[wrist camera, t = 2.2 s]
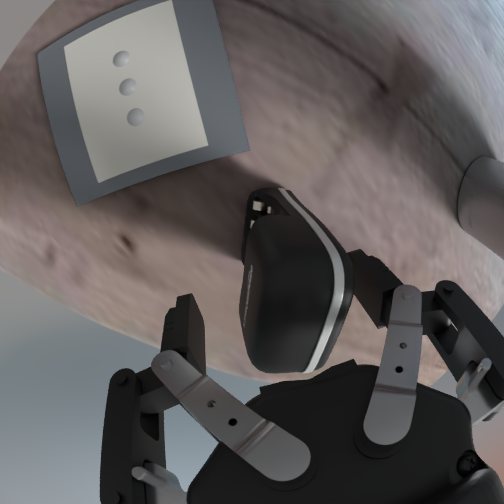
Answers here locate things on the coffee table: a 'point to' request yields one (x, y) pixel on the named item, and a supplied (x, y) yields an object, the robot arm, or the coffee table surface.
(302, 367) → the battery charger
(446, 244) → the coffee table surface
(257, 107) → the coffee table surface
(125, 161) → the pad
